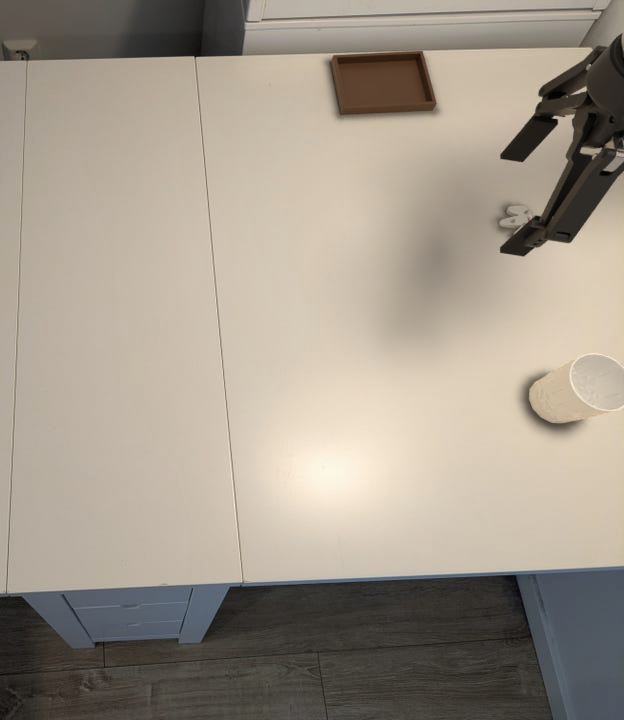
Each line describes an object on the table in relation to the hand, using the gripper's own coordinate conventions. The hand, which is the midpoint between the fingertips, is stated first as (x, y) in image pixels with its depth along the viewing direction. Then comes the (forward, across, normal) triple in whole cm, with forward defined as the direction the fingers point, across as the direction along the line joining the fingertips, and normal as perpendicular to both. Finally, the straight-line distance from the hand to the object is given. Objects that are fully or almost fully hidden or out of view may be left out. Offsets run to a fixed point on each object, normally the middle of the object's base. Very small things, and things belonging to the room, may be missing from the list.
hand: (511, 203), depth 67 cm
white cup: (+22, +16, +18) cm, 32 cm away
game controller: (+22, -14, +16) cm, 30 cm away
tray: (+21, -38, -11) cm, 45 cm away
